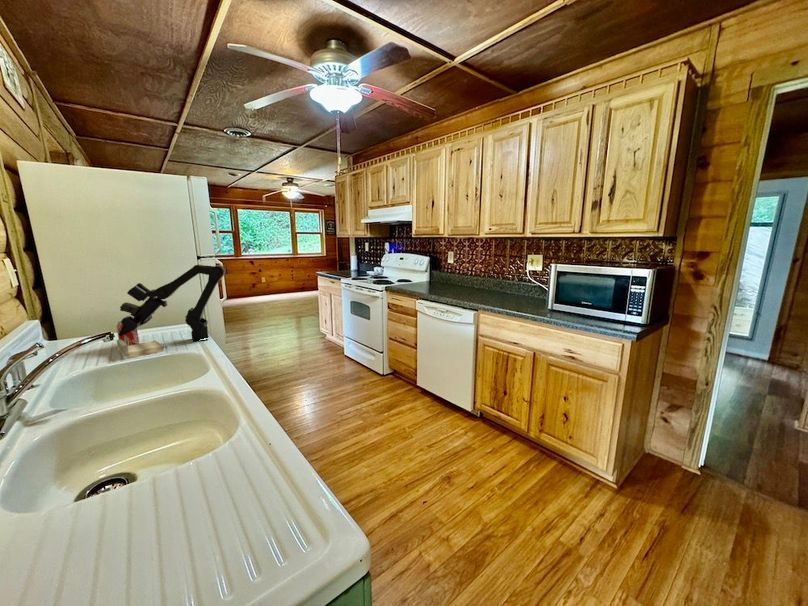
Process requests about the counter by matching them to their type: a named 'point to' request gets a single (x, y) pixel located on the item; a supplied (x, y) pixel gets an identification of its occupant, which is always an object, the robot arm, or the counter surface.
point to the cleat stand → (138, 349)
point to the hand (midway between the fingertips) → (124, 332)
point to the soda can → (128, 336)
